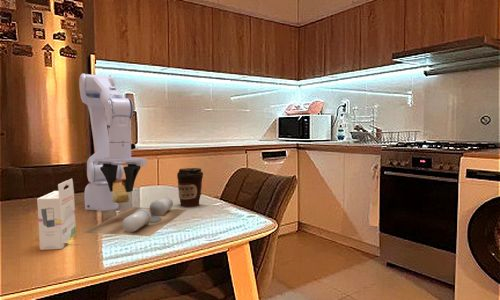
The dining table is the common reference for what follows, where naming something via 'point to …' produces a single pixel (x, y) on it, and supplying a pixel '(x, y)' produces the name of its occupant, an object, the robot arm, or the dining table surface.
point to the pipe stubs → (146, 214)
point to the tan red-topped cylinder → (120, 191)
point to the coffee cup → (189, 186)
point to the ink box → (56, 217)
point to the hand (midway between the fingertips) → (121, 191)
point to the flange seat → (155, 219)
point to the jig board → (116, 227)
